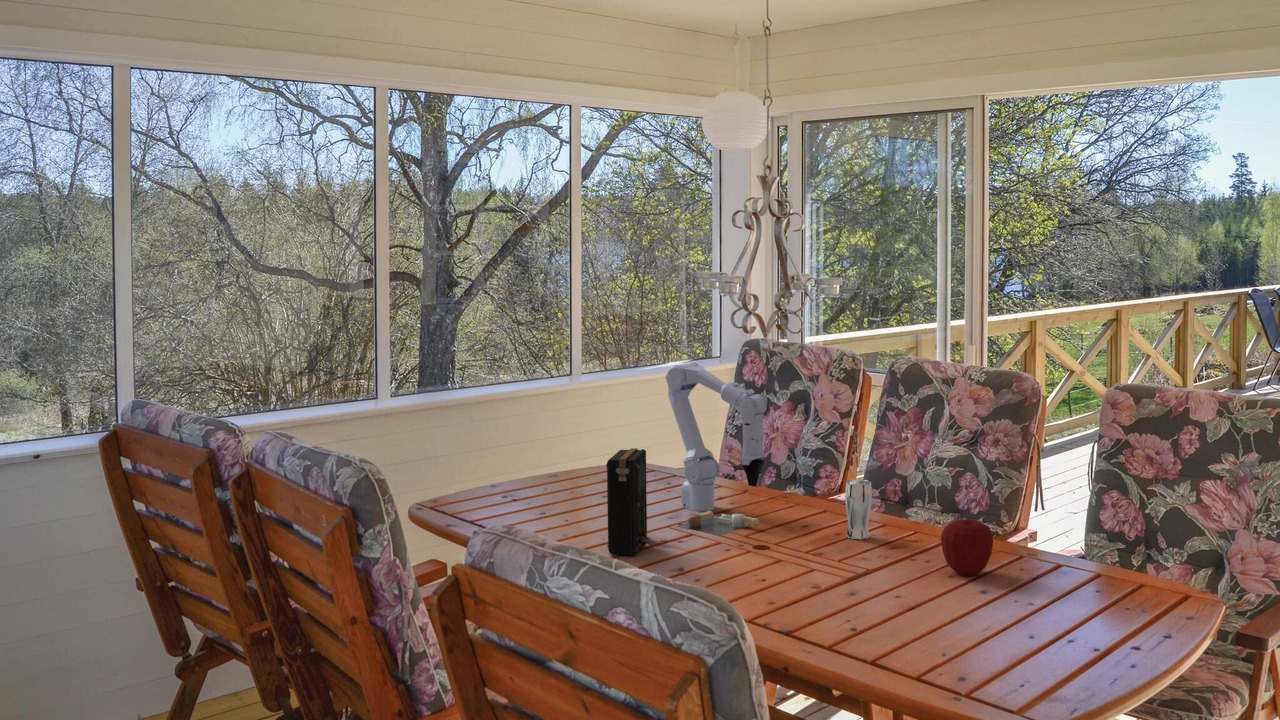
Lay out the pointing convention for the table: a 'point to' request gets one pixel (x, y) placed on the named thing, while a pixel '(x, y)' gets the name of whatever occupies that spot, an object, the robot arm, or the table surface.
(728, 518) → the bubble vial
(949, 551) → the apple
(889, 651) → the table surface
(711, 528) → the levelling plate
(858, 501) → the beer glass
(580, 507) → the table surface
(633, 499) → the voltmeter
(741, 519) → the footscrew grey
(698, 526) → the beige knobbed bar
